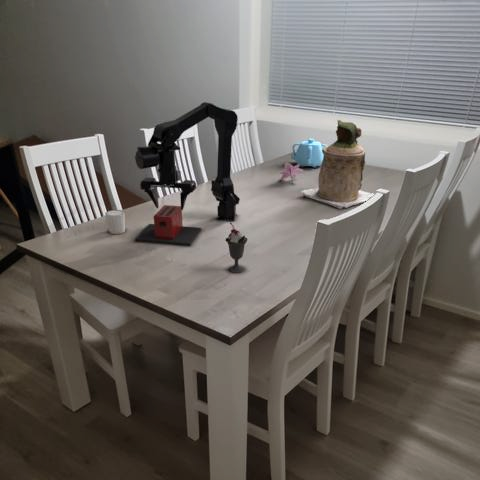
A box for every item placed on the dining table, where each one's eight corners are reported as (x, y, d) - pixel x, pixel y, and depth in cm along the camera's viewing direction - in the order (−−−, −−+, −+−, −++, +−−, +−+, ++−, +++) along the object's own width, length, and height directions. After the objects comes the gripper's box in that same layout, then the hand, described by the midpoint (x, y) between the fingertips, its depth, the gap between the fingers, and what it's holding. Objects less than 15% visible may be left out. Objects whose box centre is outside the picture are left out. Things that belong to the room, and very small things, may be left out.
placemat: (201, 230, 177) (200, 227, 177) (190, 245, 165) (190, 243, 164) (149, 226, 180) (149, 223, 180) (135, 241, 168) (134, 238, 167)
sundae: (224, 265, 152) (224, 220, 144) (245, 264, 152) (246, 219, 144) (226, 274, 146) (225, 228, 138) (247, 273, 147) (248, 227, 139)
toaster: (172, 240, 166) (170, 218, 162) (154, 239, 167) (152, 216, 163) (182, 227, 177) (181, 205, 173) (165, 225, 178) (164, 204, 174)
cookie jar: (342, 210, 197) (352, 128, 180) (298, 196, 213) (304, 119, 196) (377, 198, 211) (390, 121, 194) (334, 186, 226) (342, 113, 209)
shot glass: (130, 229, 178) (128, 210, 174) (120, 235, 172) (118, 216, 168) (114, 226, 180) (111, 208, 176) (104, 233, 174) (101, 214, 170)
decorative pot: (305, 170, 250) (307, 143, 242) (288, 163, 262) (289, 137, 254) (329, 167, 256) (332, 140, 249) (312, 160, 268) (314, 134, 261)
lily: (307, 183, 233) (303, 163, 232) (302, 179, 222) (298, 159, 221) (283, 189, 237) (280, 169, 236) (277, 186, 226) (274, 165, 225)
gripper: (199, 160, 168) (200, 203, 176) (148, 157, 170) (152, 200, 179) (190, 168, 158) (192, 213, 167) (137, 165, 161) (142, 209, 169)
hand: (169, 208), depth 171 cm, fingers open, 9 cm apart
